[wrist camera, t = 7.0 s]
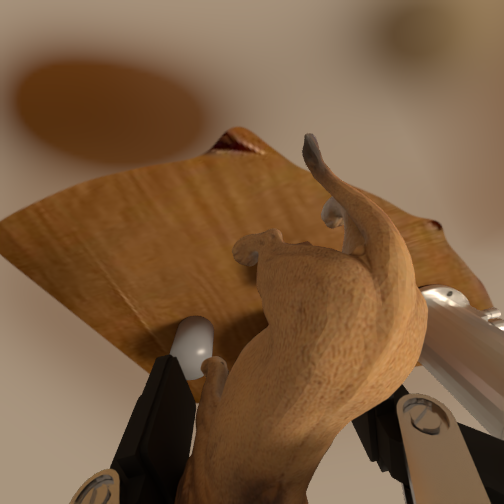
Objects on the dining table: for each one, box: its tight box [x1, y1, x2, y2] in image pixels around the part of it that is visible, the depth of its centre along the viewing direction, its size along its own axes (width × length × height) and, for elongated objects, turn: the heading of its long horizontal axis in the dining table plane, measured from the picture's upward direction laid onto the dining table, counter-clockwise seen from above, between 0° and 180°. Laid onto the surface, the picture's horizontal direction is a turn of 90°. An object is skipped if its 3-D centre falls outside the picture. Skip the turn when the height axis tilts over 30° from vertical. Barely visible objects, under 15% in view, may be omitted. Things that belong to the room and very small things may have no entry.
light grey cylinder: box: [170, 316, 214, 380], centre depth 32 cm, size 5×5×6 cm
